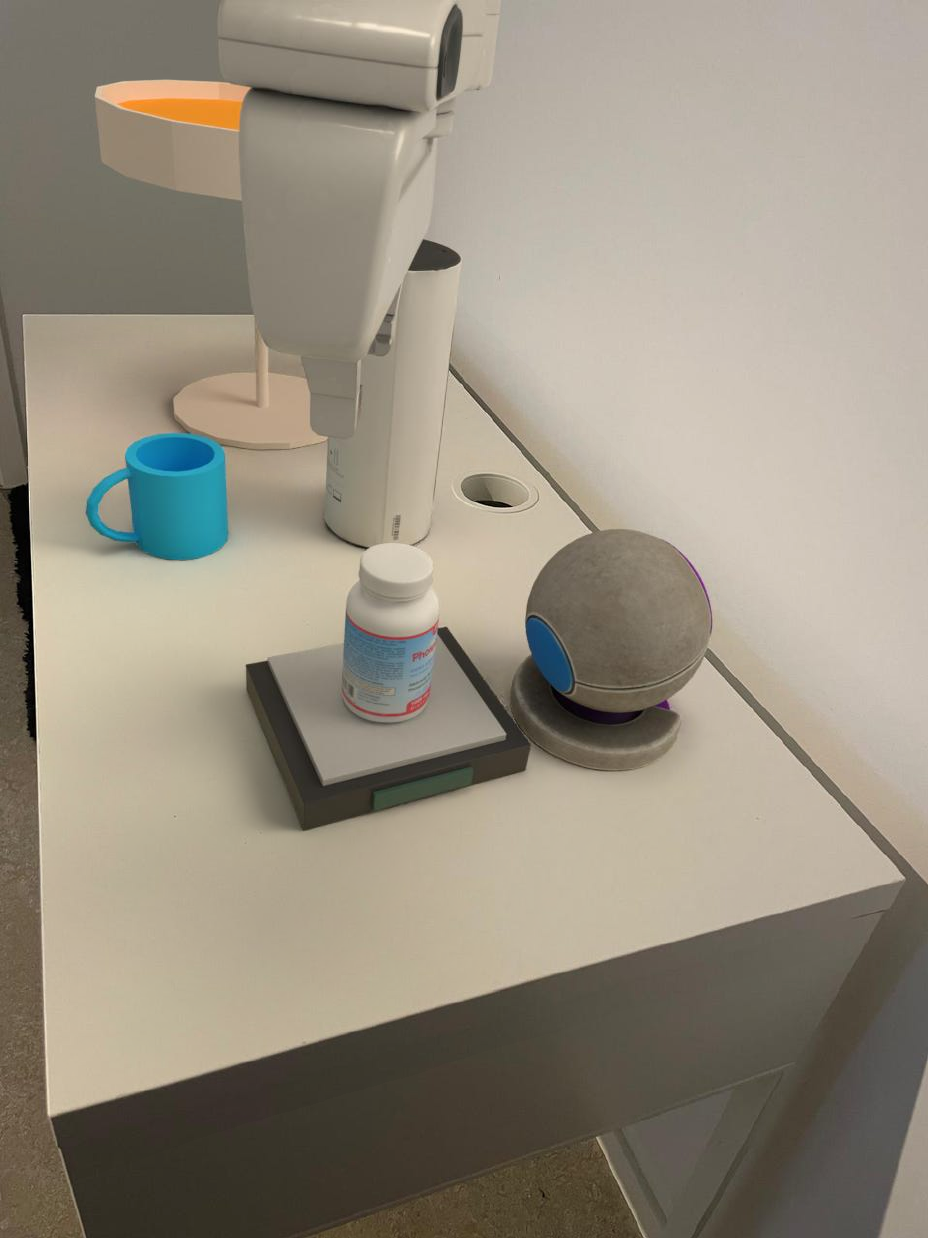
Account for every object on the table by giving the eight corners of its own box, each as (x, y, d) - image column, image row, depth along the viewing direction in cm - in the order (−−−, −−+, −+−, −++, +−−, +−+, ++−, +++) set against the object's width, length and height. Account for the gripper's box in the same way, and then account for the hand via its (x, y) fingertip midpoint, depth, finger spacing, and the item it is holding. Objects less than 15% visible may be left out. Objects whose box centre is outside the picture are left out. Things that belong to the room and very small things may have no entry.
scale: (305, 835, 56) (306, 801, 54) (246, 690, 66) (245, 657, 64) (528, 774, 63) (535, 742, 61) (443, 650, 73) (447, 620, 71)
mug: (208, 505, 86) (203, 427, 82) (242, 548, 81) (240, 466, 76) (78, 531, 80) (65, 447, 75) (106, 578, 75) (94, 492, 70)
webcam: (710, 742, 68) (774, 576, 59) (572, 793, 62) (620, 617, 53) (607, 642, 76) (649, 484, 67) (477, 678, 70) (505, 511, 62)
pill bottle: (426, 731, 60) (444, 594, 54) (335, 722, 60) (342, 583, 54) (430, 673, 65) (447, 541, 59) (346, 665, 65) (354, 531, 58)
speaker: (442, 551, 85) (477, 265, 70) (331, 554, 82) (343, 258, 67) (418, 495, 93) (445, 229, 78) (317, 497, 90) (324, 221, 75)
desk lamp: (105, 371, 109) (69, 70, 90) (337, 356, 121) (347, 90, 103) (159, 486, 88) (127, 128, 70) (431, 454, 101) (464, 144, 83)
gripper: (342, -5, 40) (332, 305, 49) (195, 13, 24) (218, 479, 32) (481, 16, 40) (448, 322, 49) (431, 48, 24) (393, 504, 32)
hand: (356, 386), depth 40 cm, fingers open, 8 cm apart
